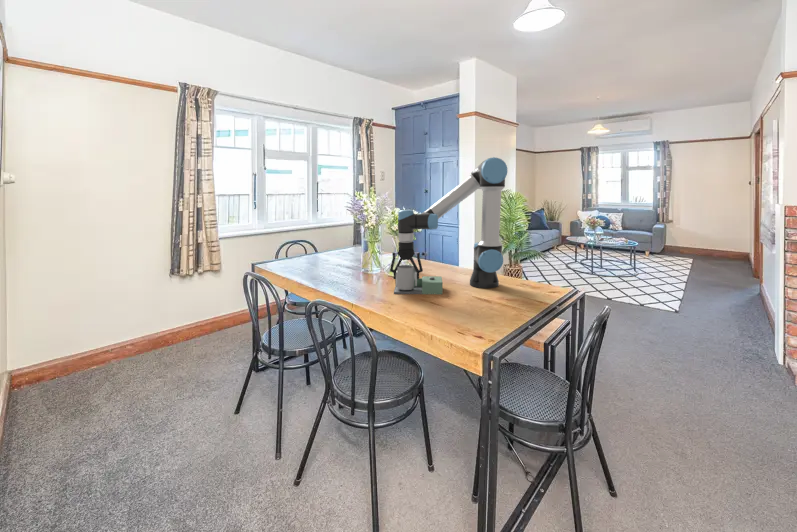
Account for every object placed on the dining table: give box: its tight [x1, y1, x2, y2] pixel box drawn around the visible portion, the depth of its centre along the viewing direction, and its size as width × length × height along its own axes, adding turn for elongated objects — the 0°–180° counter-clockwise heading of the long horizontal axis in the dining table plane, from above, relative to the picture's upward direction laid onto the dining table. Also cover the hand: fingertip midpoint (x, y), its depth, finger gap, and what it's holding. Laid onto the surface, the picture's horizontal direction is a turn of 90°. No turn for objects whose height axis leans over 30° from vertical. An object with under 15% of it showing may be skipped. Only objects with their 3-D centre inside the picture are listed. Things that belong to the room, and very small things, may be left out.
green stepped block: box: [393, 275, 444, 295], centre depth 198 cm, size 24×13×7 cm, turn 86°
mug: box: [396, 264, 416, 290], centre depth 197 cm, size 12×8×11 cm
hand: (406, 285), depth 198 cm, fingers closed on mug, 9 cm apart
